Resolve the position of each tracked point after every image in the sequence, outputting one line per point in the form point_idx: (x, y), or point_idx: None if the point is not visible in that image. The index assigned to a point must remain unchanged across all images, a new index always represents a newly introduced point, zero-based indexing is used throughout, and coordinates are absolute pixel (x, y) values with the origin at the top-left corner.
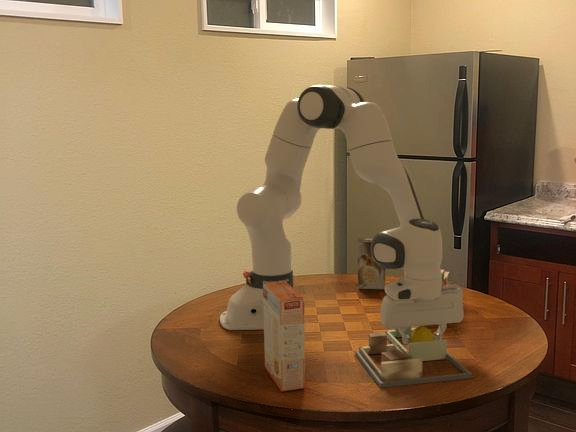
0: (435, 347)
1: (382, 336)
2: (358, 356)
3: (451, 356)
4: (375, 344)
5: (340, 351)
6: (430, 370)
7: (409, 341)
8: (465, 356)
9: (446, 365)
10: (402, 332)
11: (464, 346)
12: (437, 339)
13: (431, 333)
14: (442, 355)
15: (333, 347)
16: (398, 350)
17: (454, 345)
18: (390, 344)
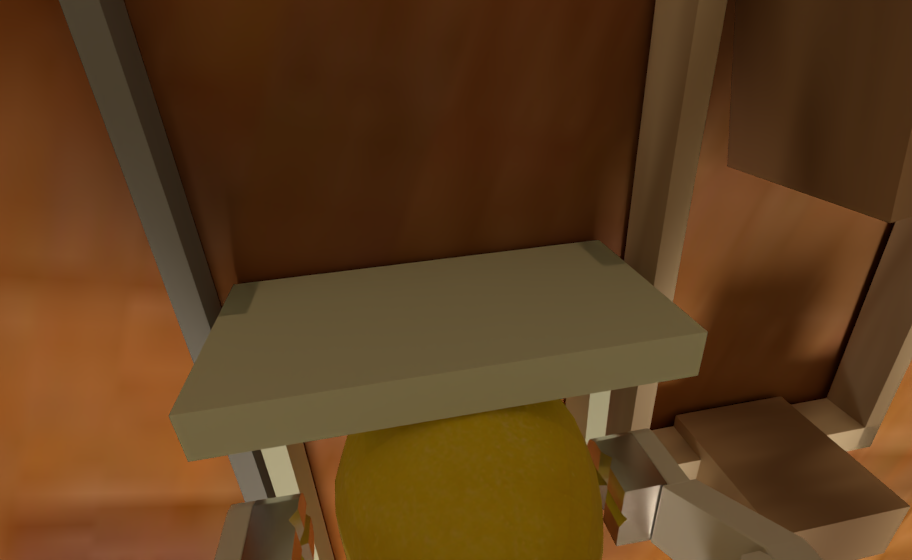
0: (356, 339)
1: (809, 521)
2: None
3: (172, 273)
4: (810, 453)
5: (895, 441)
6: (478, 41)
7: (612, 450)
8: (10, 336)
9: (267, 143)
10: (772, 530)
11: (6, 522)
12: (281, 507)
13: (377, 551)
14: (274, 296)
15: (890, 485)
16: (909, 193)
17: (104, 534)
18: None
